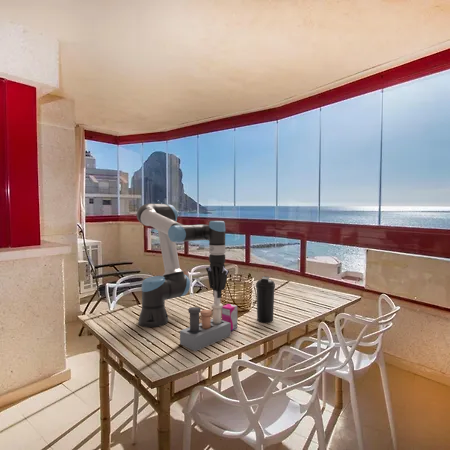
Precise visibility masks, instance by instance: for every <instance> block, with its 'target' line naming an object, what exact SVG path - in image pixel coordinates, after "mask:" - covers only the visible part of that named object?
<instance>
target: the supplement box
mask: <svg viewBox="0 0 450 450" xmlns="http://www.w3.org/2000/svg"><path fill="white" fill-rule="evenodd" d="M221 320H224V321H226V322H229V323H231V332H234V330H235V331H236V330H237V329H238V305H235V304H231V303H226V304H224V305H223V307H222V308H221Z"/></svg>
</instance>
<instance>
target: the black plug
mask: <svg viewBox="0 0 450 450" xmlns="http://www.w3.org/2000/svg"><path fill="white" fill-rule="evenodd" d="M201 311H202V310H201V307H198V306H193V307H189V308H188V312H187V313H189V327H190V331H192V332H197V331H199V324H200V312H201Z"/></svg>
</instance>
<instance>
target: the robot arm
mask: <svg viewBox="0 0 450 450" xmlns="http://www.w3.org/2000/svg"><path fill="white" fill-rule="evenodd" d="M177 218H178V211H177V210H176V208H175V206H174V205H172V204H168V203H145V204H143V205H141V206H140V207H139V208H138V210H137V212H136V219H137V220H138V222H139V223H141V224H142V225H144V226H146V227H152V228H153V229H155V230H157V232H158V238H159V245H160V249H161V251H160V252H161V256H162V262H163V269H164V273H163V274H162V275H153V276H149V277H147V278H145V279H144V280H142V282H141V311H140V313H139V316H138V325H139V326H140V327H144V328H155V327H161V326H164V325H166V324H167V323H169V315H168V313H167V310H166V307H165V306H166V304H165V303H166V300H171V299H177V298H182V297H184V296H186V295H187V294H188V293H189V291H190V287H191V281H190V278H189V276H188V275H186V274H185V271H184V270H182V269H181V267H180V261H179V256H178V250H177V249H178V248H177V244H176V243H183V242H184V243H185V242H192V241H193V242H194V241H208V242H209V243H208V248H209V249H208V250H209V251H208V252H209V255H208V261H209V266H208V267H206V268H205V270H206V272H207V279H208V283H209V288H210V289H212V290H213V291H212V293H213V294H212V295H213V303H214V305H218V304H220V303H221V298H222V291H224V290H225V289H226V284H227V279H228V275H229V273H230V270H229V269H226V266H225V263H226V222H225V221H224V220H210V221H209V224H200V223H199V224H183V223H181V222H180V223H179V222H177V221H178V219H177Z"/></svg>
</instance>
